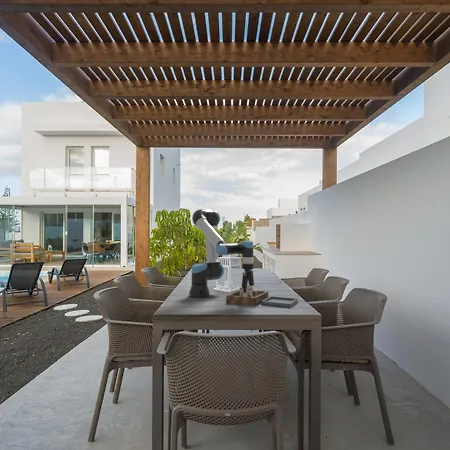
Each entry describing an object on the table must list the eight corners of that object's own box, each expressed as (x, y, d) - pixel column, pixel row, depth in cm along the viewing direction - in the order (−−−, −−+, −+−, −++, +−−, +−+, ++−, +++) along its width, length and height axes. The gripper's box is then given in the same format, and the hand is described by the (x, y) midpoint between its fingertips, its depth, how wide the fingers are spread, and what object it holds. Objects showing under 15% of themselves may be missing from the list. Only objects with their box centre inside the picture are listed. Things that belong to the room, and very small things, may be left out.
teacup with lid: (238, 301, 232) (238, 284, 232) (240, 299, 241) (240, 282, 241) (256, 302, 230) (256, 284, 230) (257, 299, 239) (257, 282, 239)
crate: (226, 303, 228) (226, 295, 228) (241, 296, 252) (241, 289, 252) (255, 305, 219) (255, 297, 219) (268, 298, 243) (268, 291, 243)
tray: (261, 305, 221) (261, 301, 221) (270, 299, 238) (270, 296, 238) (290, 307, 213) (290, 303, 213) (297, 302, 230) (297, 298, 230)
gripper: (247, 264, 224) (247, 299, 224) (258, 262, 244) (258, 294, 243) (236, 264, 228) (236, 298, 227) (248, 261, 247) (248, 293, 247)
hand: (248, 296), depth 235 cm, fingers closed on teacup with lid, 9 cm apart
